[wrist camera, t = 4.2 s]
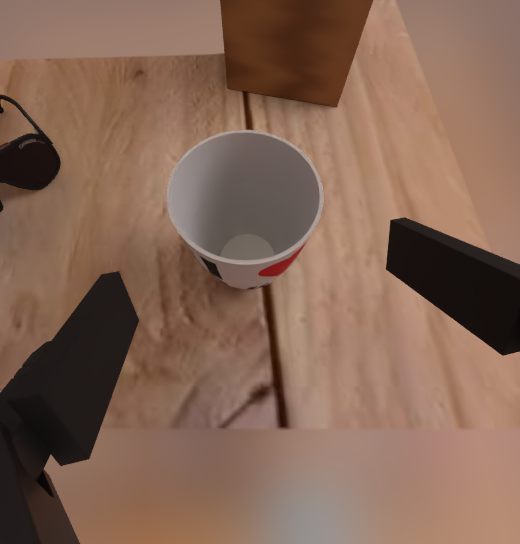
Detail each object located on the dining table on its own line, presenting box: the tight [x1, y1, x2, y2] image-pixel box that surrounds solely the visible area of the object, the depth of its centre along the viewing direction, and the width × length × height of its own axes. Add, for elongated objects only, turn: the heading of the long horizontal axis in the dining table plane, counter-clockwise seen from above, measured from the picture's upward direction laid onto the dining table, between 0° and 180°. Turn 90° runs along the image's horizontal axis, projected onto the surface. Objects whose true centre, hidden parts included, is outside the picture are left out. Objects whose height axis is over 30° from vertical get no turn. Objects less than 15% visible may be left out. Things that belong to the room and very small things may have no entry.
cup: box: [167, 130, 323, 289], centre depth 19 cm, size 8×8×10 cm
